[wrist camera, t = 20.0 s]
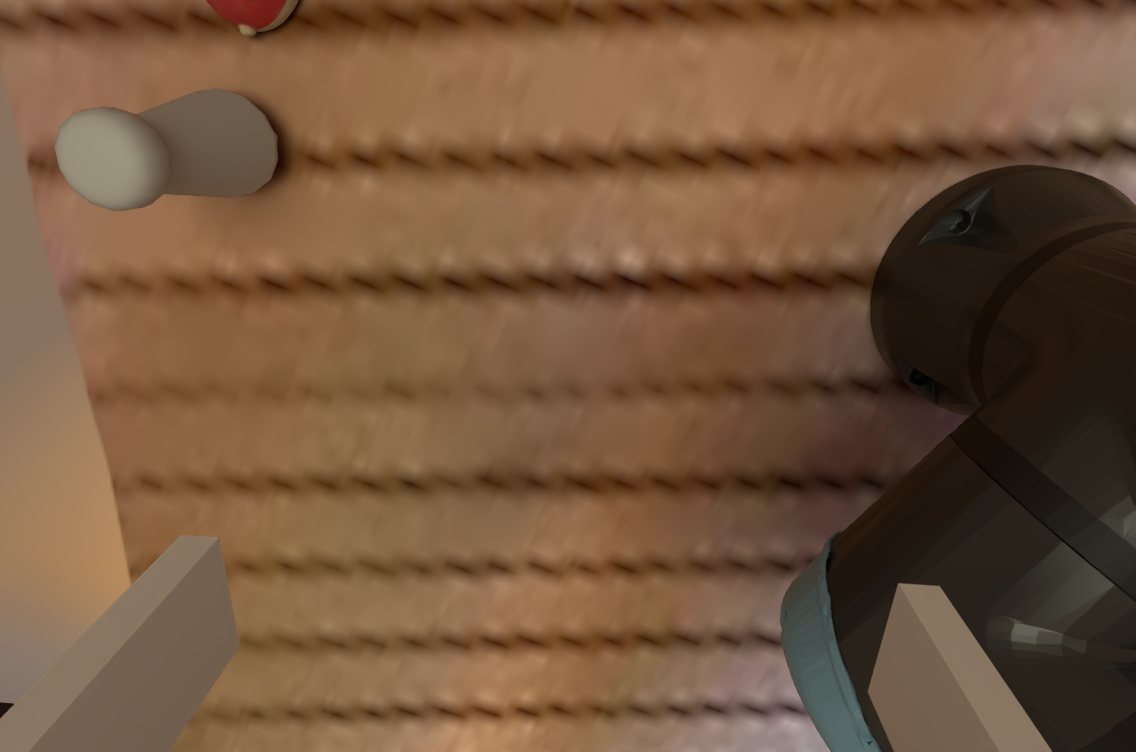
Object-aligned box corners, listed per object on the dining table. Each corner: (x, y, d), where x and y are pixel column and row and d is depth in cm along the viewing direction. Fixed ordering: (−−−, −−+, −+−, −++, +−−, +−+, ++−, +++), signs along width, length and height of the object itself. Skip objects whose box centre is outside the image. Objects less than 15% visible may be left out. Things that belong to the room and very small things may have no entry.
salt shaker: (246, 67, 39) (86, 56, 27) (313, 154, 40) (192, 180, 28) (177, 128, 40) (-4, 143, 28) (244, 209, 42) (102, 256, 30)
